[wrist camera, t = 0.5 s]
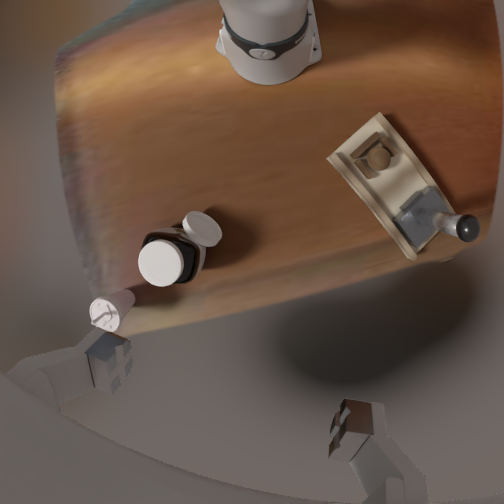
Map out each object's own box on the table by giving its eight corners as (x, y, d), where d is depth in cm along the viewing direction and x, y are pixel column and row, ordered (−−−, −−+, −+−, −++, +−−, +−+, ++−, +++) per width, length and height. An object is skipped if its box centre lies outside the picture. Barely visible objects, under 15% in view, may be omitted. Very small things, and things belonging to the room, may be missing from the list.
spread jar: (152, 261, 57) (125, 279, 46) (164, 201, 55) (137, 206, 44) (214, 279, 57) (199, 301, 46) (228, 217, 55) (216, 226, 43)
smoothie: (145, 291, 59) (112, 319, 45) (136, 318, 60) (104, 350, 46) (117, 277, 58) (79, 300, 45) (110, 304, 60) (74, 331, 46)
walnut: (365, 145, 48) (372, 142, 45) (387, 150, 48) (395, 148, 44) (362, 169, 49) (369, 167, 45) (384, 173, 49) (392, 172, 45)
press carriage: (443, 212, 49) (503, 225, 32) (410, 245, 51) (463, 271, 33) (423, 182, 49) (481, 184, 31) (389, 216, 50) (438, 230, 33)
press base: (448, 214, 51) (458, 216, 48) (406, 256, 54) (414, 261, 50) (373, 116, 49) (380, 111, 45) (326, 158, 51) (330, 156, 48)
